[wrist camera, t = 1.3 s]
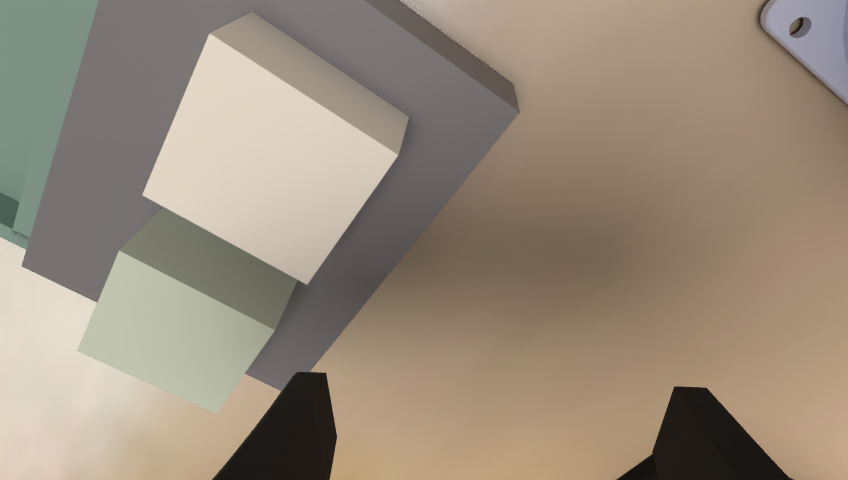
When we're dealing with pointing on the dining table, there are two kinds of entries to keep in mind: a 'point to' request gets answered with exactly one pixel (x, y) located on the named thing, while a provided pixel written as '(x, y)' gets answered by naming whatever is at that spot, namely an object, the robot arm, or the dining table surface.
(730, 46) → the dining table surface
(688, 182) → the dining table surface
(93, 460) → the dining table surface
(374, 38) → the charcoal board
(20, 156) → the tray
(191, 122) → the cream tile
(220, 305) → the sage tile
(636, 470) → the chess piece
